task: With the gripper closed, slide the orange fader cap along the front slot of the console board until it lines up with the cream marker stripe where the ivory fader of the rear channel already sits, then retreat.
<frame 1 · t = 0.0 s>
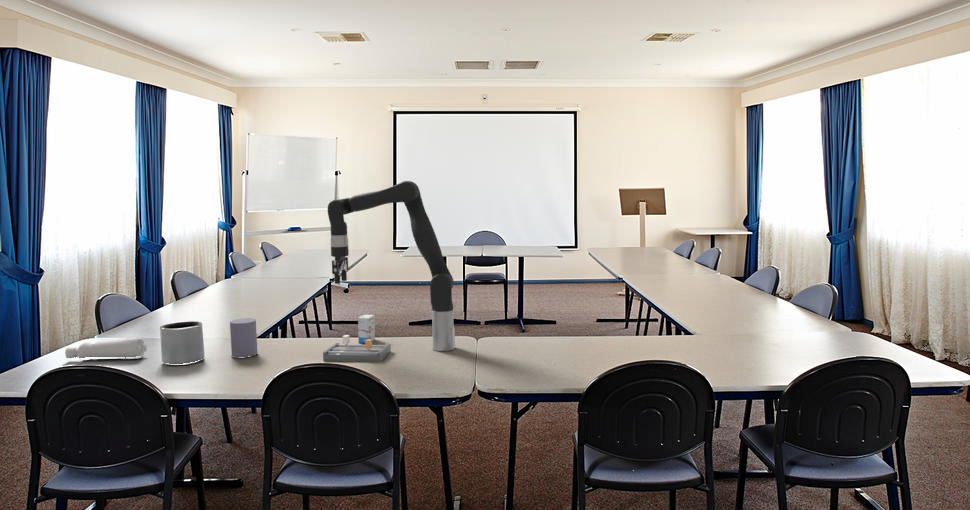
hand: (340, 282, 282), 29 cm above the table, fingers open, 8 cm apart
console: (357, 356, 270), on the table
planter: (183, 362, 265), on the table
fader front: (368, 345, 265), point 5 cm above the table, slide at 0.0 cm
ink box: (367, 341, 296), on the table
bottle: (107, 360, 271), on the table
fader rear: (346, 341, 274), point 5 cm above the table, slide at 0.0 cm
container: (244, 356, 274), on the table
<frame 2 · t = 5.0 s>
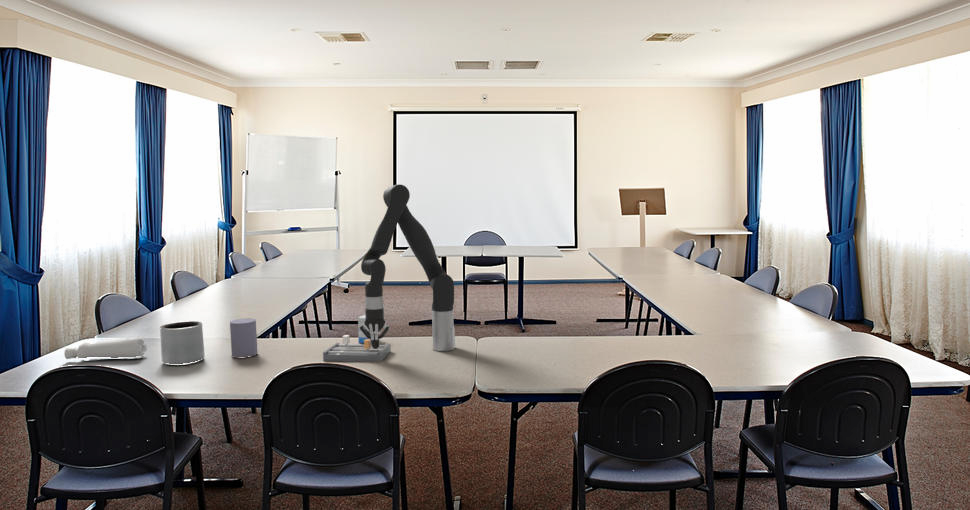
hand: (375, 348, 265), 4 cm above the table, fingers closed
fader front: (367, 345, 265), point 5 cm above the table, slide at 0.5 cm, touching gripper
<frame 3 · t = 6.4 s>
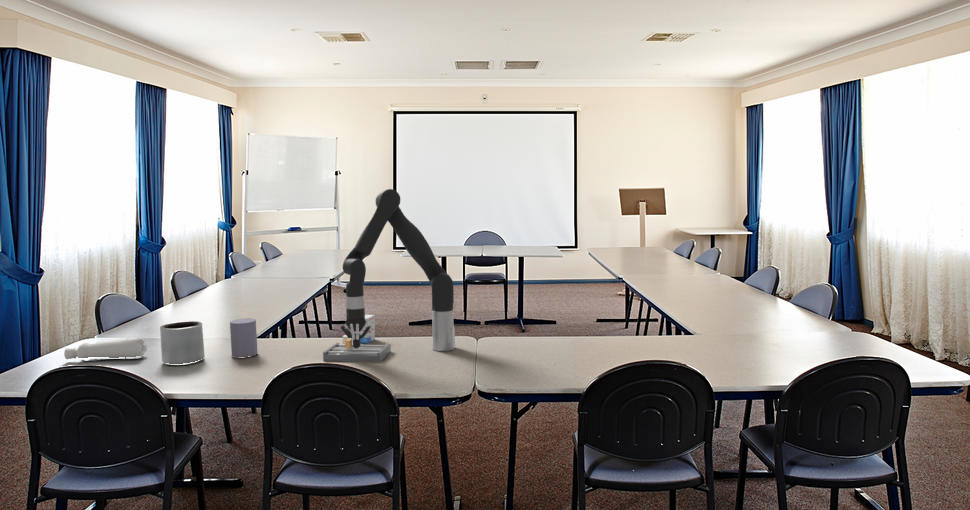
hand: (356, 347, 266), 4 cm above the table, fingers closed
fader front: (348, 345, 266), point 5 cm above the table, slide at 8.5 cm, touching gripper
everything else where it was.
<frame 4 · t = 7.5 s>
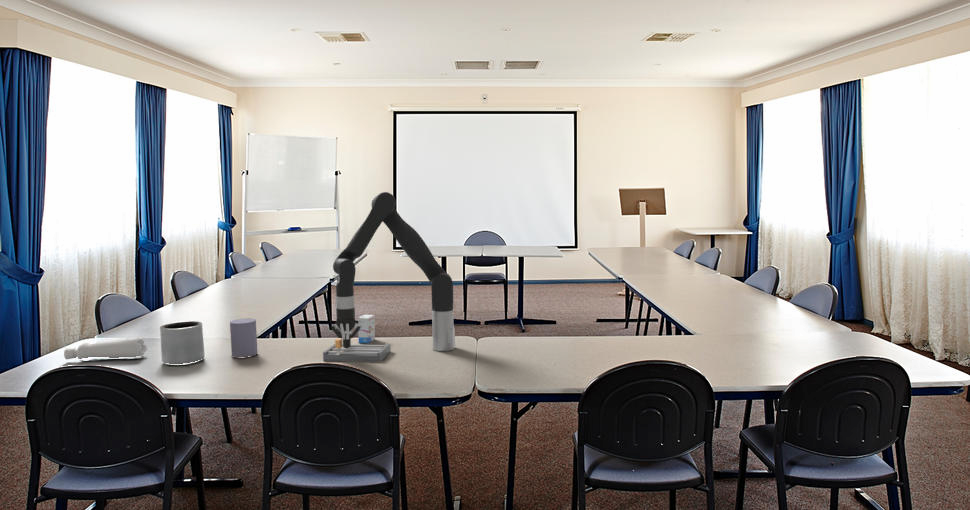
hand: (346, 347, 266), 4 cm above the table, fingers closed
fader front: (338, 345, 267), point 5 cm above the table, slide at 12.7 cm, touching gripper
everything else where it was.
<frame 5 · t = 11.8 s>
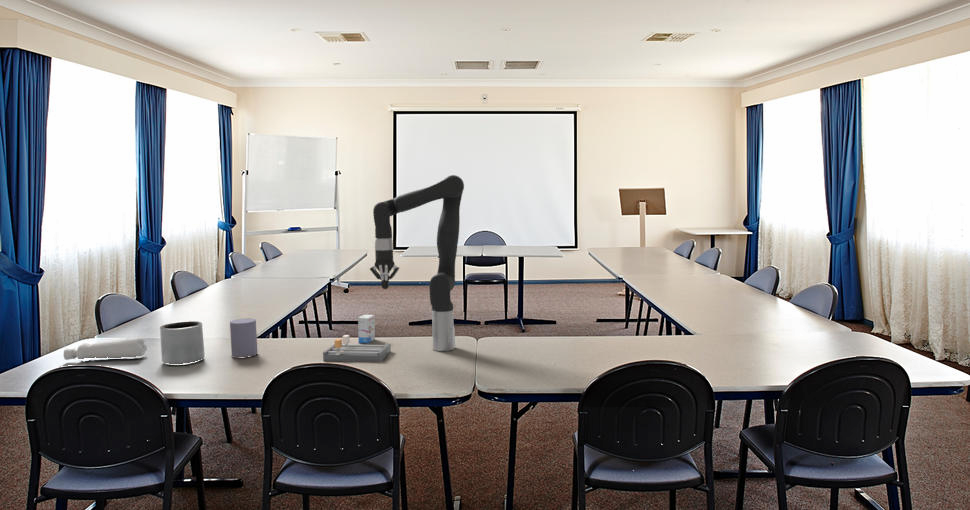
hand: (385, 288, 276), 27 cm above the table, fingers closed
fader front: (338, 345, 267), point 5 cm above the table, slide at 13.0 cm
at the end: fader front slide at 13.0 cm; fader rear slide at 0.0 cm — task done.
